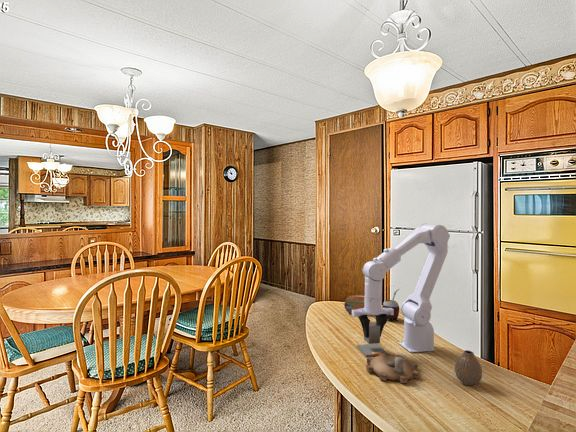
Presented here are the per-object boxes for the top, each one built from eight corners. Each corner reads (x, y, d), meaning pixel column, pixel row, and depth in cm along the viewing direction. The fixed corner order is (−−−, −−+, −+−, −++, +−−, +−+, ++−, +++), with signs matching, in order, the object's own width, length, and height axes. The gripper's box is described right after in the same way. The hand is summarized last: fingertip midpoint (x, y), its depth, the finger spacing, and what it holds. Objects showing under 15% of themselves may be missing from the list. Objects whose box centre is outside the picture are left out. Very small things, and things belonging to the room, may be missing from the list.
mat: (377, 345, 121) (377, 343, 121) (388, 354, 113) (388, 352, 113) (356, 346, 119) (356, 344, 119) (366, 356, 111) (366, 354, 111)
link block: (374, 338, 118) (374, 321, 118) (379, 343, 115) (380, 325, 114) (364, 339, 118) (364, 322, 118) (368, 343, 114) (369, 326, 114)
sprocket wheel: (404, 356, 111) (404, 340, 111) (430, 381, 96) (430, 362, 95) (358, 359, 109) (358, 342, 109) (377, 384, 93) (378, 365, 93)
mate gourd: (384, 315, 153) (385, 283, 152) (402, 319, 149) (403, 285, 148) (380, 320, 146) (380, 286, 146) (398, 324, 142) (399, 288, 142)
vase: (481, 391, 91) (482, 359, 91) (453, 384, 95) (453, 353, 94) (482, 380, 97) (483, 350, 97) (455, 373, 101) (456, 344, 100)
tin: (344, 314, 155) (344, 295, 155) (344, 311, 158) (344, 294, 158) (377, 316, 153) (378, 297, 152) (377, 313, 156) (377, 295, 156)
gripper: (387, 293, 121) (386, 330, 121) (348, 294, 118) (348, 333, 118) (397, 298, 114) (396, 338, 114) (356, 300, 111) (355, 341, 111)
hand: (372, 336), depth 116 cm, fingers closed on link block, 4 cm apart
